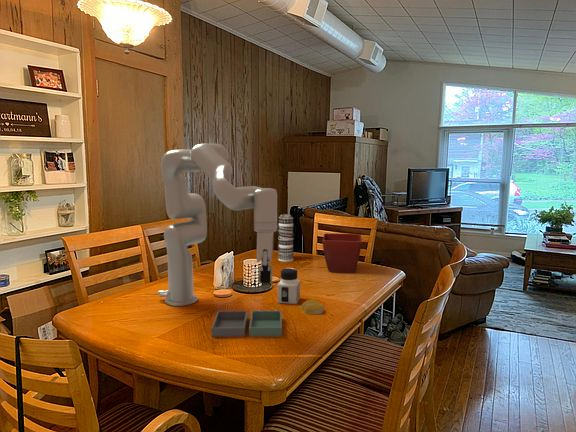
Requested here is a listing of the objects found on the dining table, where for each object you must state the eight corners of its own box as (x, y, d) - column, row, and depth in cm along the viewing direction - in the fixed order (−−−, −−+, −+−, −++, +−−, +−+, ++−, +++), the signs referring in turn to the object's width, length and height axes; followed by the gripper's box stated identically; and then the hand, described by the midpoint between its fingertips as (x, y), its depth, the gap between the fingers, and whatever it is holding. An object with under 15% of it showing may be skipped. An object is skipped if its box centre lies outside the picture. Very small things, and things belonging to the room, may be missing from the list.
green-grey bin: (249, 338, 140) (249, 327, 140) (251, 320, 155) (251, 310, 154) (281, 338, 140) (281, 327, 140) (281, 320, 155) (281, 310, 155)
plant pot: (323, 263, 232) (324, 232, 230) (360, 265, 230) (361, 233, 227) (321, 273, 214) (322, 240, 211) (361, 275, 211) (362, 241, 209)
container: (296, 304, 171) (296, 272, 169) (277, 303, 173) (277, 271, 171) (300, 298, 179) (300, 267, 177) (281, 296, 180) (281, 266, 178)
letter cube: (258, 282, 143) (258, 269, 142) (259, 278, 147) (259, 265, 147) (272, 282, 143) (272, 269, 142) (272, 278, 148) (272, 265, 147)
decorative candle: (276, 261, 237) (275, 215, 233) (279, 257, 246) (279, 213, 242) (292, 262, 236) (292, 216, 232) (295, 258, 245) (295, 213, 241)
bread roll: (307, 317, 158) (307, 307, 158) (298, 309, 167) (298, 299, 166) (328, 314, 161) (328, 304, 161) (318, 306, 170) (318, 296, 169)
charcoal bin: (211, 338, 140) (211, 328, 139) (217, 320, 155) (217, 311, 154) (244, 338, 140) (244, 328, 140) (247, 320, 155) (247, 310, 154)
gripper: (255, 221, 151) (255, 273, 153) (252, 230, 134) (252, 288, 137) (277, 221, 151) (276, 273, 154) (277, 231, 134) (276, 288, 137)
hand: (265, 279), depth 145 cm, fingers closed on letter cube, 4 cm apart
